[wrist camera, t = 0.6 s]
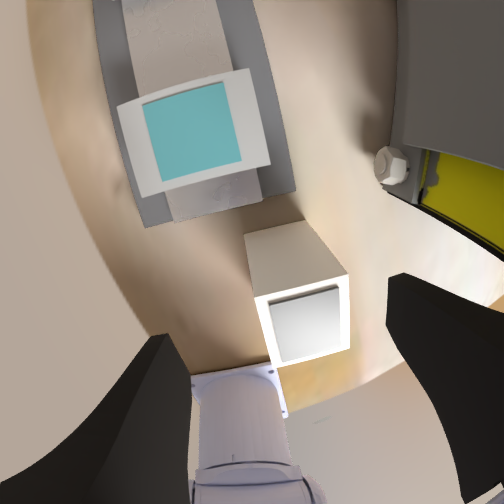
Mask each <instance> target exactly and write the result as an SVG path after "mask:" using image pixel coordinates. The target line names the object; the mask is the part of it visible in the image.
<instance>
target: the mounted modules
mask: <svg viewBox="0 0 504 504" xmlns="http://www.w3.org/2000/svg"><path fill="white" fill-rule="evenodd" d="M112 1H115V0H112ZM117 111H118V115H119V119H120V123H121V127H122V131H123V135H124V139H125V143H126V146H127V150H128V154H129V157H130V161H131V164H132V168H133V171H134V174H135V178H136V181H137V184H138V188H139V191H140V194H141V197H142V198H144V197H147V196H151V195H154V194H157V193H160V192H164V191H167V190H171V189H174V188H178V187H181V186H185V185H188V184H192V183H196V182H199V181H203V180H207V179H211V178H215V177H219V176H223V175H227V174H231V173H235V172H240V171H244V170H248V169H253V168H257V167H262V166H267V165H271V163H270V158H269V153H268V149H267V144H266V139H265V135H264V130H263V126H262V121H261V117H260V112H259V108H258V104H257V99H256V95H255V91H254V86H253V82H252V78H251V74H250V70H249V68H246V69H241V70H236V71H231V72H226V73H221V74H217V75H213V76H209V77H205V78H201V79H197V80H193V81H189V82H186V83H182V84H179V85H176V86H172V87H169V88H166V89H163V90H160V91H157V92H154V93H151V94H148V95H145V96H142V97H140V98H137V99H134V100H132V101H129V102H127V103H124V104H122V105H119V106H117Z"/></svg>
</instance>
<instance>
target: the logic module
mask: <svg viewBox="0 0 504 504" xmlns="http://www.w3.org/2000/svg"><path fill="white" fill-rule="evenodd" d="M243 235H244V241H245V247H246V252H247V258H248V264H249V270H250V276H251V282H252V288H253V294H254V299H255V303H256V307H257V310H258V314H259V318H260V322H261V326H262V329H263V333H264V337H265V341H266V345H267V348H268V352H269V356H270V360H271V363H272V367H273V368H278V367H282V366H286V365H290V364H294V363H298V362H302V361H306V360H310V359H314V358H317V357H321V356H324V355H328V354H331V353H335V352H338V351H341V350H345V349H348V348H349V336H350V316H349V278H348V273H347V272H346V270H345V269H344V268H343V266H342V265H341V264H340V262H339V261H338V260H337V259H336V257H335V256H334V255H333V253H332V252H331V251H330V250H329V248H328V247H327V246H326V245H325V243H324V242H323V241H322V240H321V238H320V237H319V236H318V235H317V233H316V232H315V231H314V230H313V228H312V227H311V226H310V225H309V223H308V222H307V221H306V220H303V221H298V222H294V223H290V224H285V225H281V226H276V227H272V228H268V229H263V230H259V231H255V232H251V233H246V234H243Z"/></svg>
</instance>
